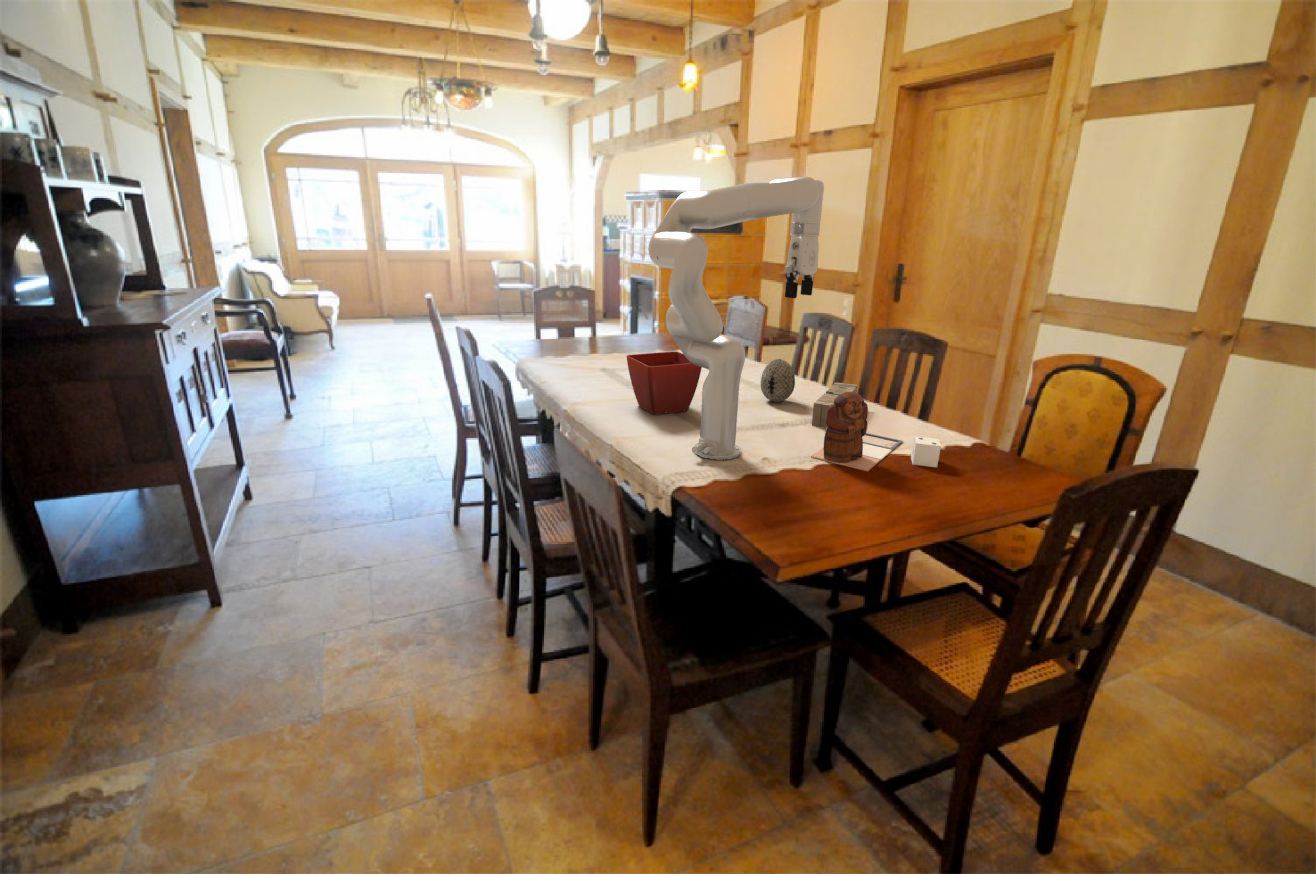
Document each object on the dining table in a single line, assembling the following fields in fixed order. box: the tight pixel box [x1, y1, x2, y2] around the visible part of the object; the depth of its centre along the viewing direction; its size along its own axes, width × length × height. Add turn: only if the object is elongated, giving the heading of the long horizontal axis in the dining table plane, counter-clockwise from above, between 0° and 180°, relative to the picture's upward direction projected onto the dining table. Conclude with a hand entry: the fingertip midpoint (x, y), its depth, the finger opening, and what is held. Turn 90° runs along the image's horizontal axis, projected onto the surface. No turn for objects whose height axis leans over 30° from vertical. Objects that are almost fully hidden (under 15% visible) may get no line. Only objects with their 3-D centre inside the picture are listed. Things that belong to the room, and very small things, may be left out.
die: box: [910, 435, 942, 468], centre depth 167 cm, size 6×6×6 cm
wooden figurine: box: [823, 392, 869, 463], centre depth 165 cm, size 12×6×18 cm, turn 123°
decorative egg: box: [760, 358, 796, 403], centre depth 218 cm, size 12×12×15 cm
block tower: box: [811, 382, 858, 429], centre depth 205 cm, size 8×8×29 cm
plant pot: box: [626, 351, 703, 415], centre depth 206 cm, size 19×19×17 cm
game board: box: [810, 432, 904, 472], centre depth 176 cm, size 29×15×1 cm, turn 143°
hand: (798, 296), depth 172 cm, fingers open, 9 cm apart
